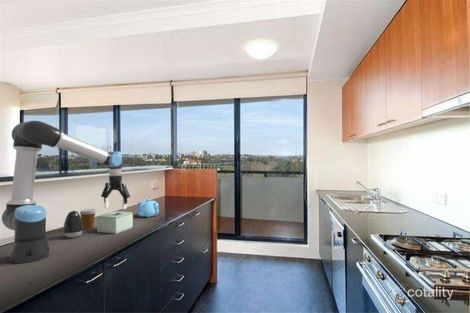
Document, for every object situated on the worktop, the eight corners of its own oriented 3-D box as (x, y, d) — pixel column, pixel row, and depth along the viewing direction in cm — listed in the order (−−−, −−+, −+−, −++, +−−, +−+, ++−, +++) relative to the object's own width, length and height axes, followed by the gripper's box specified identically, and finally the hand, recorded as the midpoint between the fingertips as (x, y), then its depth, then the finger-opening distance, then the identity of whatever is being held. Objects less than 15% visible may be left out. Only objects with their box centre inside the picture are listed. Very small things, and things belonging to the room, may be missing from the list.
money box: (116, 233, 167) (115, 217, 167) (97, 232, 171) (97, 216, 171) (132, 227, 182) (132, 212, 182) (115, 226, 186) (115, 211, 186)
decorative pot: (159, 217, 213) (159, 200, 213) (137, 219, 208) (137, 201, 208) (157, 213, 228) (157, 197, 229) (137, 214, 223) (137, 198, 223)
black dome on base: (60, 240, 155) (60, 213, 155) (66, 235, 165) (66, 209, 165) (80, 238, 157) (80, 212, 158) (85, 233, 167) (85, 208, 168)
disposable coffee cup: (94, 229, 177) (94, 211, 177) (77, 230, 174) (77, 211, 175) (97, 226, 186) (97, 208, 186) (81, 227, 184) (81, 209, 184)
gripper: (135, 175, 177) (135, 208, 177) (103, 174, 184) (103, 206, 184) (128, 176, 170) (128, 210, 170) (95, 175, 177) (95, 208, 177)
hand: (115, 208), depth 177 cm, fingers open, 13 cm apart
